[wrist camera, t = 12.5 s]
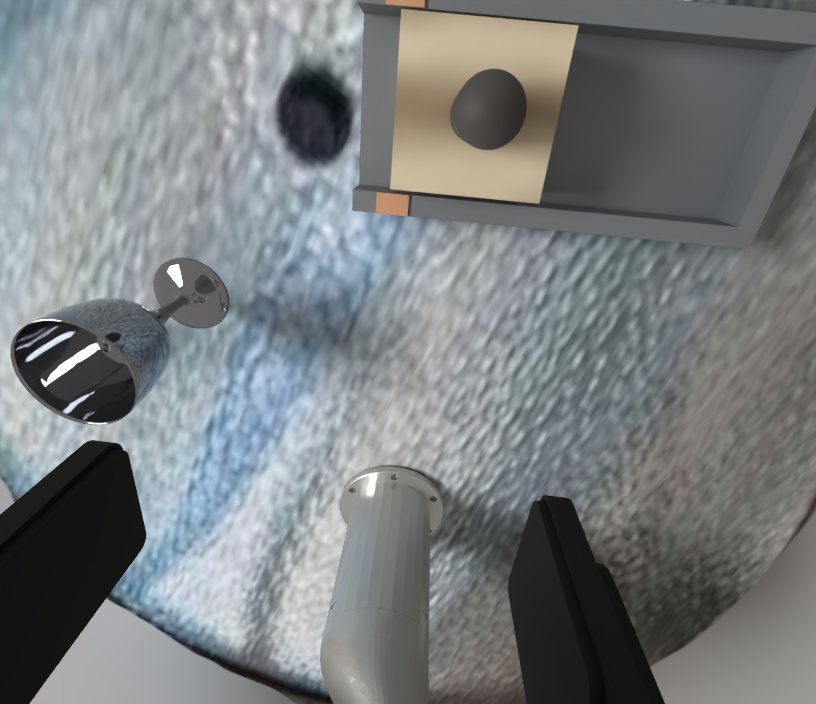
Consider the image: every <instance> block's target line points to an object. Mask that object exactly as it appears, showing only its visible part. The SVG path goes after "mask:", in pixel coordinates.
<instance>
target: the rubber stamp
mask: <svg viewBox="0 0 816 704" xmlns="http://www.w3.org/2000/svg"><path fill="white" fill-rule="evenodd" d="M578 26H579V25H568V24H557V23H547V22H536V21H525V20H514V19H504V18H493V17H482V16H471V15H461V14H450V13H439V12H428V11H417V10H407V9H401V20H400V37H399V53H398V70H397V86H396V102H395V119H394V135H393V152H392V168H391V184H390V189H394V190H404V191H414V192H425V193H435V194H445V195H455V196H466V197H476V198H486V199H496V200H506V201H517V202H527V203H537V204H539V203H540V198H541V194H542V189H543V185H544V180H545V176H546V171H547V166H548V162H549V157H550V153H551V148H552V144H553V139H554V135H555V130H556V126H557V121H558V117H559V112H560V107H561V103H562V98H563V94H564V89H565V85H566V80H567V76H568V71H569V67H570V62H571V58H572V53H573V48H574V44H575V39H576V35H577V30H578Z"/></svg>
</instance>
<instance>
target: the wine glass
mask: <svg viewBox="0 0 816 704" xmlns="http://www.w3.org/2000/svg"><path fill="white" fill-rule="evenodd" d="M154 292H155V295H156V298H157V300H158V302H159V304H160V306H161V307H162V308H159V309H157V310H154V311H150V310H149V309H147V308H146V307H144V306H142V305H140V304H138V303H135V302H132V301H129V300H125V299H119V298H104V299H96V300H90V301H85V302H81V303H78V304H74V305H71V306H67V307H64V308H61V309H59V310H57V311H54V312H52V313H50V314H47V315H45V316H43V317H41V318H39V319H37V320H35V321H33V322H31V323H29V324H27V325H26V326H24V327H23V328H22V329H20V330H19V331H18V332H17V334H16V335H15V337H14V338H13V341H12V344H11V360H12V365H13V368H14V370H15V373H16V375H17V376H18V378H19V380H20V382H21V383H22V384H23V386H24V387H25V388H26V390H27V391H28V392H29V393H30V394H31V395H32V396H33V397H34V398H35V399H36V400H37V401H39V402H40V403H41V404H42V405H44V406H45V407H47V408H48V409H50V410H51V411H53V412H54V413H56V414H58V415H60V416H62V417H64V418H67V419H70V420H72V421H75V422H79V423H83V424H91V425H105V424H110V423H114V422H116V421H119V420H121V419H122V418H123V417H125V416H126V415H128V414H129V413H130V412H131V411H132V410H133V409H134V408H135V407H136V406H138V405H139V403H140V402H141V401H142V400H143V399H144V398H145V397H146V396H147V395H148V394H149V393H150V392H151V391H152V389H153V388H154V387H155V385H156V384H157V383H158V381H159V380H160V378H161V376H162V375H163V373H164V371H165V369H166V367H167V365H168V363H169V359H170V355H171V342H170V337H169V334H168V331H167V329H166V327H165V322H166V321H167V320H168V319H169V318H170V317H171V318H173V319H174V320H175V321H177V322H179V323H180V324H183V325H185V326H188V327H192V328H209V327H212V326H214V325H216V324H218V323H219V322H220V321H221V320H222V319H223V318H224V316H225V314H226V312H227V309H228V295H227V292H226V289H225V287H224V285H223V283H222V281H221V280H220V278H219V277H218V276H217V275H216V274H215V273H214V272H213V271H212V270H211V269H210V268H209V267H207V266H205V265H204V264H202V263H200V262H198V261H195V260H192V259H187V258H175V259H171V260H169V261H167V262H165V263H164V264H162V265H161V266H160V267H159V269H158V270H157V272H156V274H155V278H154Z"/></svg>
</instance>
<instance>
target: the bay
mask: <svg viewBox="0 0 816 704" xmlns="http://www.w3.org/2000/svg"><path fill="white" fill-rule="evenodd" d="M357 3H358V4H359V6H360V8H361V9H362V11H363V12H364V38H363V73H362V108H361V143H360V178H359V185H358V186H357V187H356V188H354V189H353V208H352V210H353V211H363V212H373V213H378V214H389V215H399V216H414V217H424V218H434V219H445V220H455V221H465V222H475V223H485V224H495V225H505V226H516V227H526V228H536V229H546V230H556V231H566V232H576V233H587V234H597V235H607V236H617V237H627V238H637V239H648V240H658V241H668V242H678V243H688V244H698V245H708V246H719V247H729V248H739V249H750V247H751V245H752V243H753V241H754V239H755V237H756V234H757V232H758V230H759V228H760V226H761V224H762V222H763V219H764V217H765V215H766V213H767V211H768V209H769V207H770V204H771V202H772V200H773V198H774V196H775V194H776V192H777V189H778V187H779V185H780V183H781V181H782V179H783V177H784V174H785V172H786V170H787V168H788V166H789V164H790V162H791V159H792V157H793V155H794V153H795V151H796V149H797V147H798V144H799V142H800V140H801V138H802V136H803V134H804V132H805V129H806V127H807V125H808V123H809V121H810V119H811V117H812V114H813V112H814V110H815V108H816V13H812V12H801V11H790V10H779V9H768V8H757V7H747V6H736V5H725V4H714V3H703V2H692V1H681V0H357ZM401 9H407V10H417V11H428V12H439V13H450V14H461V15H471V16H482V17H493V18H504V19H514V20H525V21H536V22H547V23H557V24H568V25H579V26H578V30H577V35H576V39H575V44H574V48H573V53H572V58H571V62H570V67H569V71H568V76H567V80H566V85H565V89H564V94H563V98H562V103H561V107H560V112H559V117H558V121H557V126H556V130H555V135H554V139H553V144H552V148H551V153H550V157H549V162H548V166H547V171H546V176H545V180H544V185H543V189H542V194H541V198H540V203H539V204H537V203H527V202H517V201H506V200H496V199H486V198H476V197H466V196H455V195H445V194H435V193H425V192H414V191H404V190H394V189H390V184H391V168H392V152H393V135H394V119H395V102H396V86H397V70H398V53H399V37H400V20H401Z"/></svg>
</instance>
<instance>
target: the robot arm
mask: <svg viewBox="0 0 816 704" xmlns="http://www.w3.org/2000/svg"><path fill="white" fill-rule="evenodd" d="M340 512H341V516H342V518H343V520H344V522H345V523H346V524H347V525H348V526H347V531H346V535H345V540H344V544H343V549H342V554H341V558H340V563H339V567H338V572H337V576H336V581H335V585H334V590H333V594H332V599H331V603H330V608H329V612H328V617H327V621H326V626H325V630H324V635H323V639H322V644H321V656H320V661H321V670H322V675H323V678H324V682H325V685H326V687H327V690H328V692H329V695H330V697H331V699H332V701H333V703H334V704H429V583H430V535H432V534H433V533H434V532H435V531H436V530H437V529H438V527H439V526H440V524H441V522H442V519H443V512H444V506H443V499H442V496H441V494H440V492H439V490H438V489H437V487H436V486H435V485H434V484H433V483H432V482H431V481H430V480H429V479H427V478H426V477H424V476H423V475H421V474H419V473H417V472H415V471H412V470H409V469H405V468H400V467H393V466H382V467H376V468H371V469H368V470H365V471H362V472H361V473H359V474H357V475H355V476H354V477H353V478H351V479H350V480H349V481H348V483H347V484H346V485H345V486H344V489H343V491H342V494H341V498H340ZM145 540H146V530H145V525H144V521H143V517H142V512H141V508H140V503H139V499H138V495H137V490H136V486H135V481H134V477H133V473H132V468H131V464H130V459H129V455H128V453H127V452H126V451H123V448H122V446H121V445H120V444H117V443H110V442H102V441H94V440H92V441H88V442H86V443H85V444H83V445H82V446H81V447H80V448H79V449H77V450H76V451H75V452H74V453H73V454H71V455H70V456H69V457H68V458H67V459H66V460H64V461H63V462H62V463H61V464H60V465H58V466H57V467H56V468H55V469H54V470H53V471H51V472H50V473H49V474H48V475H47V476H45V477H44V478H43V479H42V480H41V481H40V482H38V483H37V484H36V485H35V486H34V487H32V488H31V489H30V490H29V491H28V492H27V493H25V494H24V495H23V496H22V497H21V498H19V499H18V500H17V501H16V502H15V503H14V504H12V505H11V506H10V507H9V508H8V509H6V510H5V511H4V512H3V513H2V514H1V515H0V704H29V703H30V702H31V701H32V699H33V698H34V697H35V695H36V694H37V692H38V691H39V689H40V688H41V687H42V685H43V684H44V683H45V681H46V680H47V678H48V677H49V676H50V674H51V673H52V672H53V670H54V669H55V668H56V666H57V665H58V664H59V662H60V661H61V659H62V658H63V657H64V655H65V654H66V652H67V651H68V650H69V648H70V647H71V646H72V644H73V643H74V642H75V640H76V639H77V637H78V636H79V635H80V633H81V632H82V631H83V629H84V628H85V627H86V625H87V624H88V622H89V621H90V619H91V618H92V617H93V616H94V614H95V613H96V611H97V610H98V609H99V607H100V606H101V605H102V603H103V602H104V600H105V599H106V598H107V596H108V595H109V594H110V592H111V591H112V589H113V588H114V587H115V585H116V584H117V583H118V581H119V580H120V578H121V577H122V576H123V574H124V573H125V572H126V570H127V569H128V567H129V566H130V565H131V563H132V562H133V561H134V559H135V558H136V556H137V555H138V554H139V552H140V551H141V549H142V548H143V546H144V543H145ZM508 592H509V599H510V605H511V611H512V618H513V624H514V630H515V636H516V642H517V648H518V654H519V660H520V666H521V672H522V678H523V684H524V690H525V696H526V702H527V704H665V703H664V700H663V698H662V696H661V693H660V691H659V688H658V686H657V683H656V681H655V679H654V676H653V674H652V672H651V669H650V666H649V664H648V662H647V659H646V657H645V654H644V652H643V650H642V647H641V645H640V642H639V640H638V637H637V635H636V633H635V630H634V628H633V625H632V623H631V621H630V618H629V616H628V613H627V611H626V608H625V606H624V604H623V601H622V599H621V596H620V594H619V592H618V589H617V587H616V584H615V582H614V580H613V577H612V575H611V573H610V571H609V570H608V569H607V567H606V566H605V565H602V564H598V563H596V562H595V559H594V557H593V554H592V551H591V549H590V546H589V544H588V541H587V539H586V536H585V533H584V531H583V528H582V526H581V523H580V520H579V518H578V515H577V513H576V510H575V508H574V505H573V503H572V501H571V500H570V499H569V498H563V497H555V496H547V495H544V496H543V497H542V498H541V500H540V501H534V502H533V504H532V507H531V510H530V513H529V516H528V520H527V523H526V526H525V529H524V532H523V535H522V539H521V542H520V545H519V548H518V551H517V555H516V558H515V561H514V564H513V567H512V571H511V574H510V577H509V583H508Z"/></svg>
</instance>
